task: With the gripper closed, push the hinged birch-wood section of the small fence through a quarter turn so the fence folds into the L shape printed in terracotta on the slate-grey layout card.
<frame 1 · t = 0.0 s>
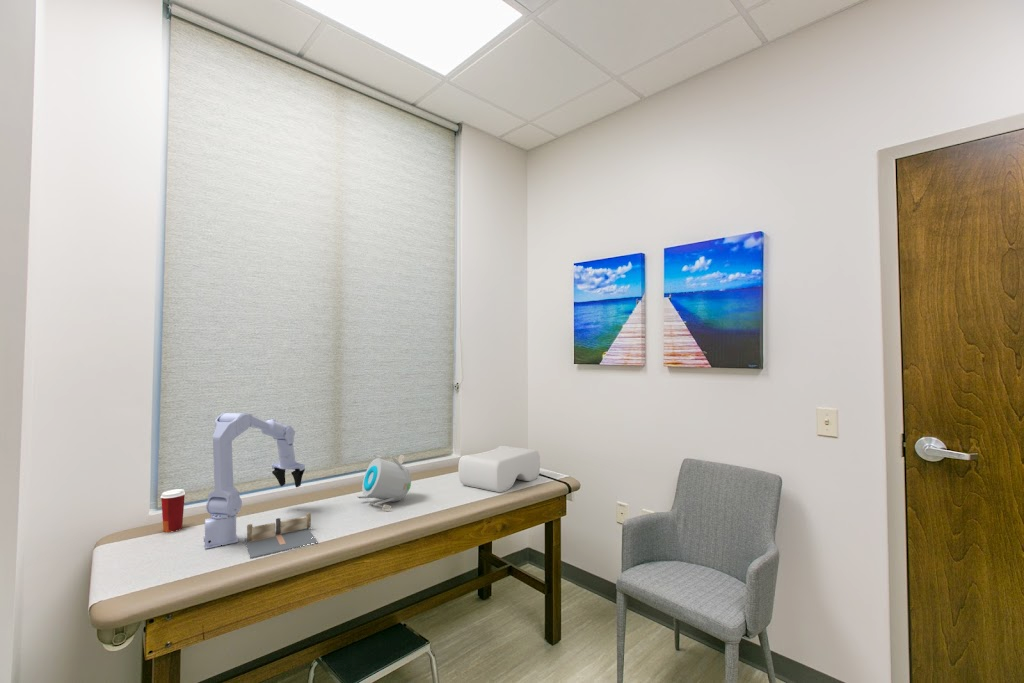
hand: (290, 485, 189), 11 cm above the table, tool pointing down, fingers open, 7 cm apart
fence gate: (293, 523, 166), point 3 cm above the table, hinge at 0.0°
layout card: (280, 541, 158), on the table
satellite: (385, 502, 199), on the table
fixed fence: (278, 536, 163), resting on layout card
paper cup: (172, 530, 171), on the table
knee pillow: (500, 482, 228), on the table
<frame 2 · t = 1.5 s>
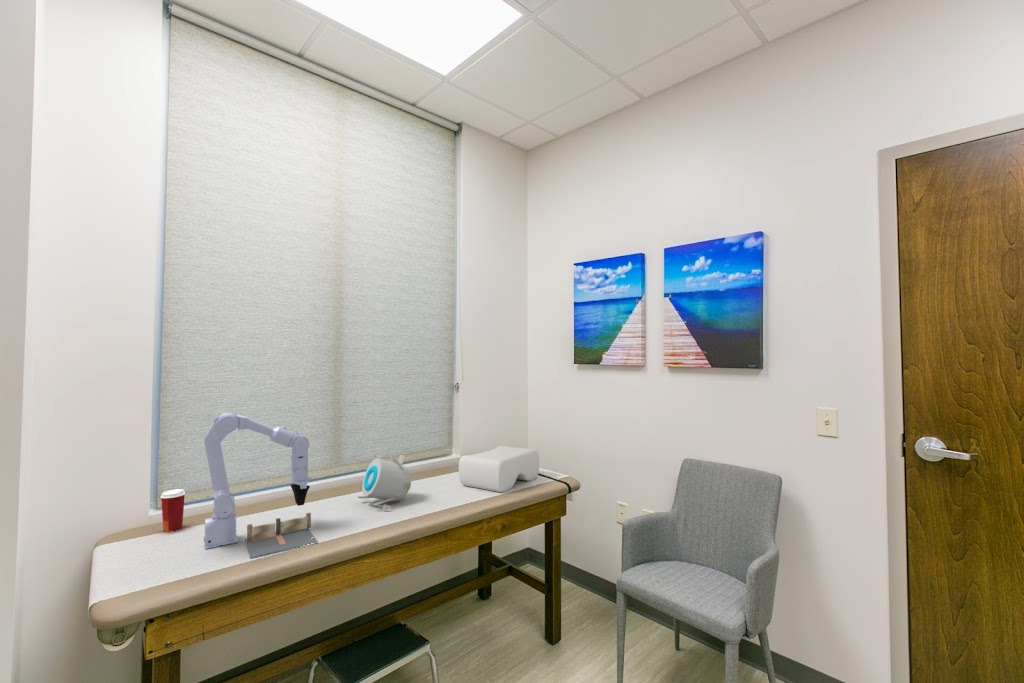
hand: (299, 504, 171), 8 cm above the table, tool pointing down, fingers open, 3 cm apart
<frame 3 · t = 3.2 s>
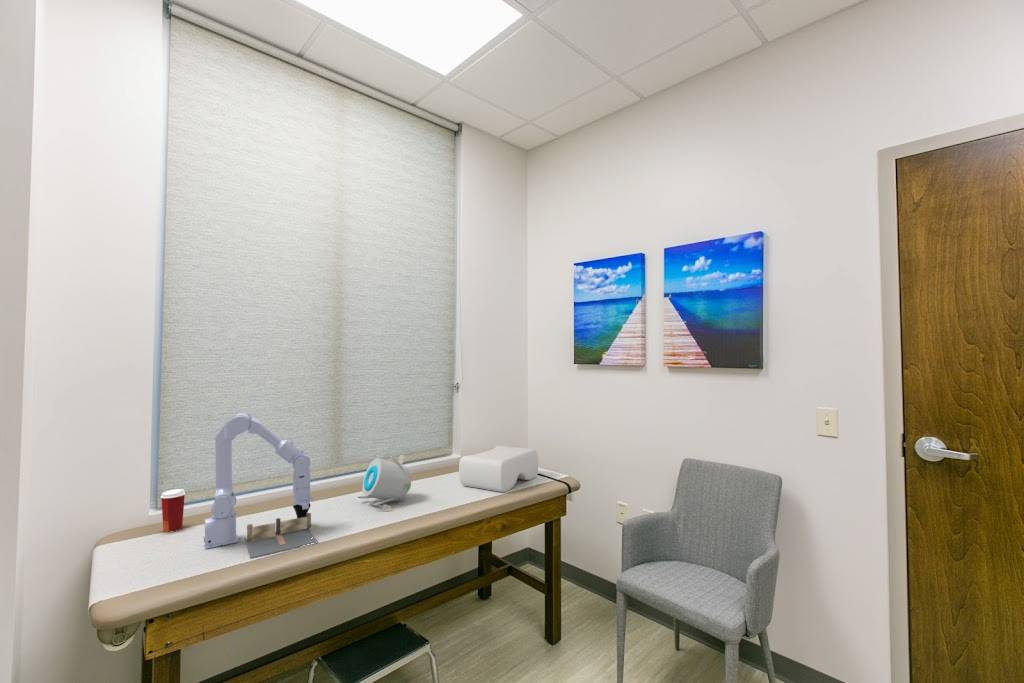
hand: (301, 524, 168), 2 cm above the table, tool pointing down, fingers closed
fence gate: (293, 523, 165), point 3 cm above the table, hinge at -1.5°, touching gripper
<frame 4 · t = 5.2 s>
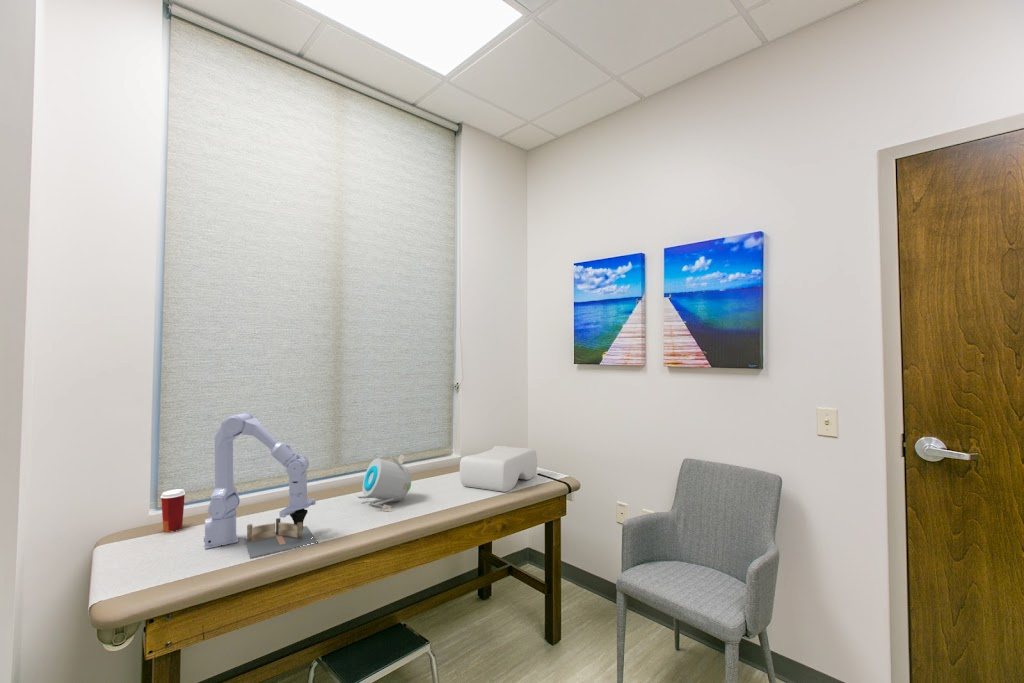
hand: (298, 531, 161), 2 cm above the table, tool pointing down, fingers closed
fence gate: (289, 527, 161), point 3 cm above the table, hinge at -56.0°, touching gripper
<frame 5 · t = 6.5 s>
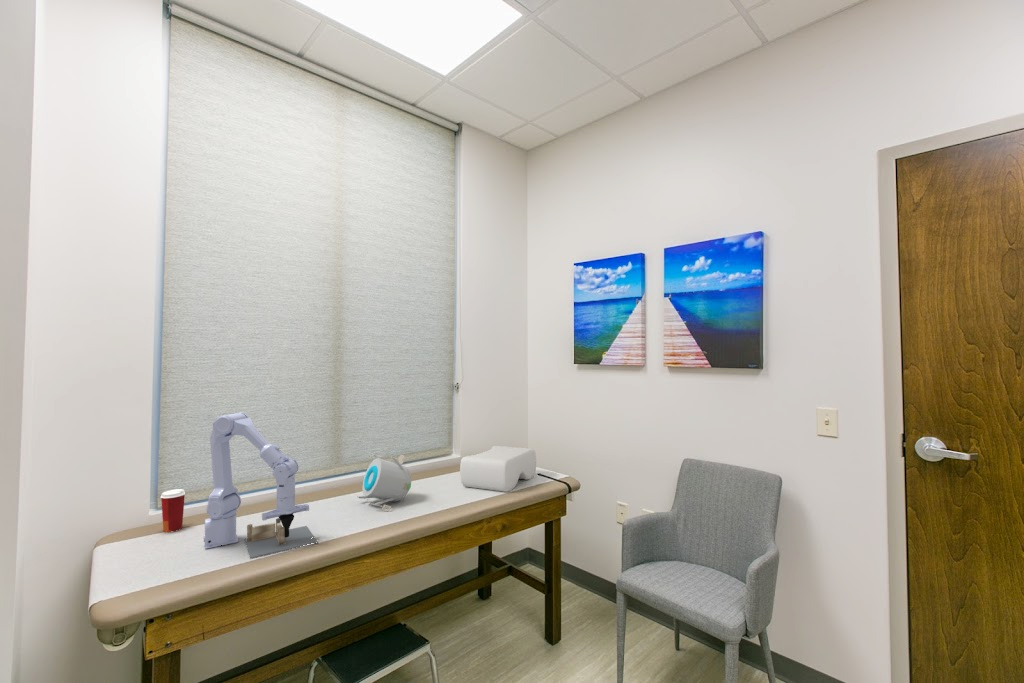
hand: (286, 536, 157), 2 cm above the table, tool pointing down, fingers closed, pressing on fence gate
fence gate: (280, 530, 158), point 3 cm above the table, hinge at -91.4°, touching gripper
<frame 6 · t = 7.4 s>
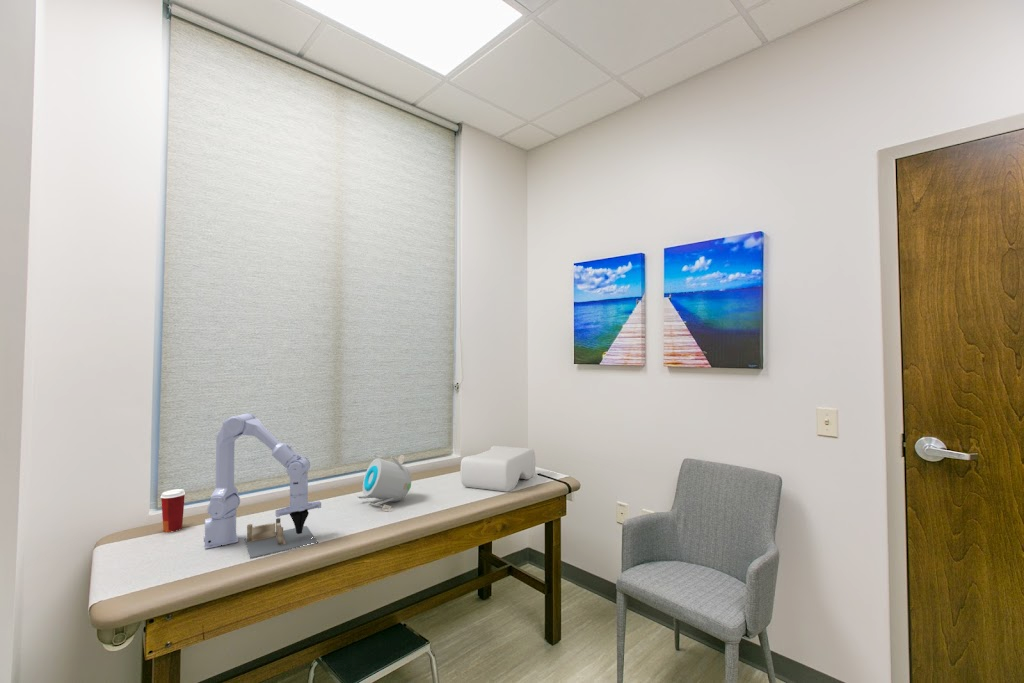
hand: (299, 532, 160), 2 cm above the table, tool pointing down, fingers closed
fence gate: (279, 530, 158), point 3 cm above the table, hinge at -93.8°
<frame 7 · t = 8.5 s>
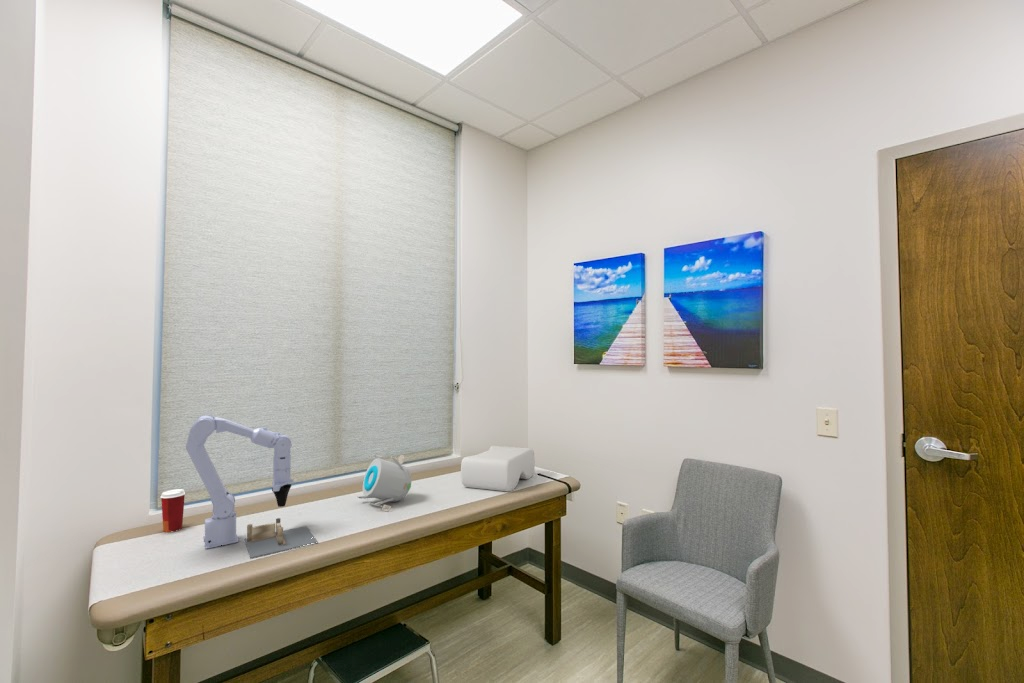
hand: (281, 506, 168), 9 cm above the table, tool pointing down, fingers closed
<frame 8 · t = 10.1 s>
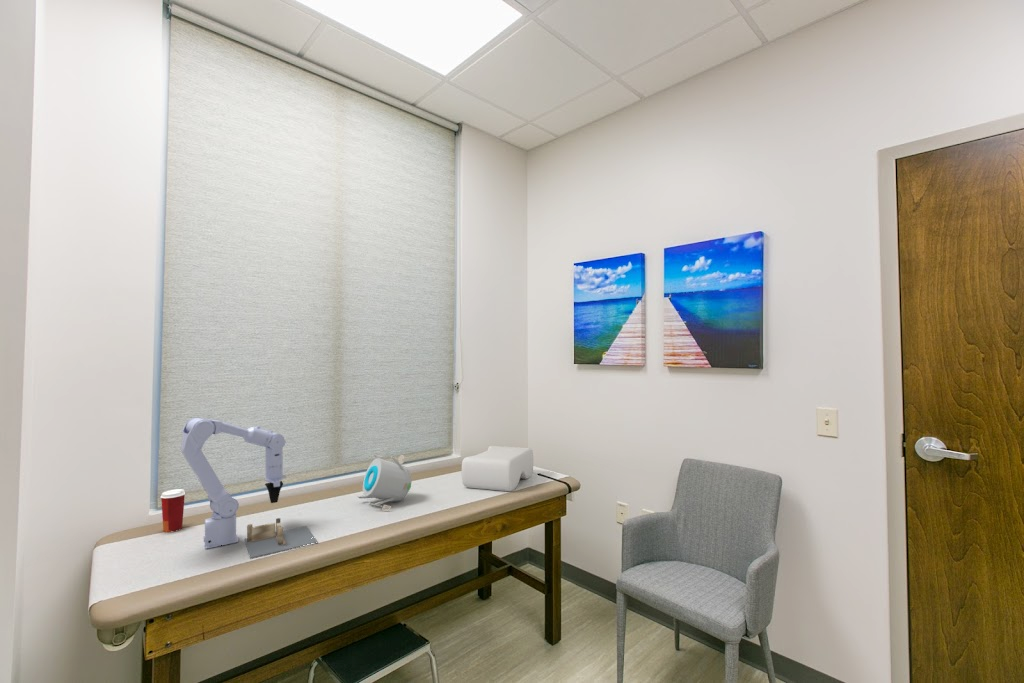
hand: (274, 502, 171), 9 cm above the table, tool pointing down, fingers closed
at the end: fence gate at -94° (first picture: +0°) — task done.
